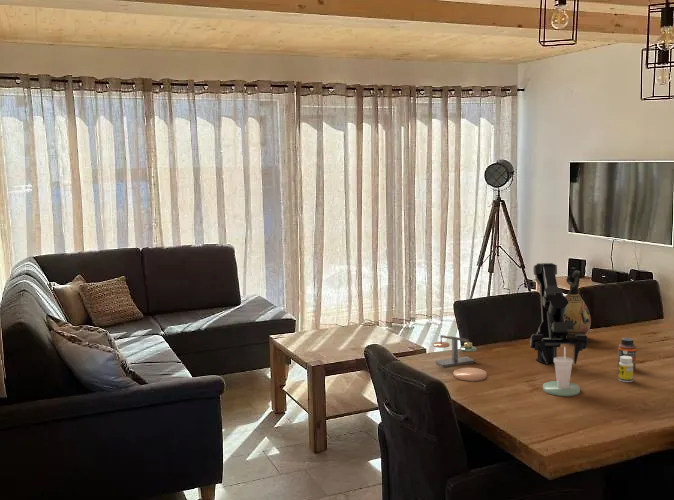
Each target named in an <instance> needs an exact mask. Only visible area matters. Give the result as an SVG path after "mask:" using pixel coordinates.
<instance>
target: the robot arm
mask: <svg viewBox="0 0 674 500" xmlns="http://www.w3.org/2000/svg"><path fill="white" fill-rule="evenodd" d="M532 270H533V276H535V281H536V283H537V284H538V286H539V289H540V290H539V293H540V309H541V310H540V311H541V323H540V325H539V327H538V330H537V332H536V333H532V335H531V336H530V340H529V343H530V344H529V345H530V349H534V351H536V352H537V358H535V361H537V362H540V363H542V364H544V365H551V364H555V363H554V362H553V361H554V358H555V357H558V356H557V355H558V354H557V353H558V350H557V349H558V348H560V347H561V346H562V345H573V364H574V365H576V364H577V361H578V356H579V352H582V351H583V350H585V349H587V346H588V344H589V337H588V335H587V334H585V335H575V338H567V336H568V330H573V329H574V325H573V321H569V320H568V321H567V322H565V319H564V315H565V312H566V308H567V304H568V300H567V299H566V298H565V296H566V295H564V292H563V290H562V289H561V288H560V287H558V282H557V277H556V275H558V265H557V264H555V263H552V262H551V263H550V262H545V263H542V262H541V263H536V264H535V265H533V269H532Z"/></svg>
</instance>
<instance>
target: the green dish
mask: <svg viewBox="0 0 674 500" xmlns="http://www.w3.org/2000/svg"><path fill="white" fill-rule="evenodd" d="M542 390H543V391H544V393H546V394H549V395H552V396H558V397H572V396H573V397H575V396H577V395H579V394H580V393H581V387H580V386H579V385H578V384H576V383H574V382H569V388H566V389H563V388H559V387H557V380H552V381H546V382H544V383H543V384H542Z"/></svg>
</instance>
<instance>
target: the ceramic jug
mask: <svg viewBox="0 0 674 500" xmlns="http://www.w3.org/2000/svg"><path fill="white" fill-rule="evenodd" d="M565 280H566V283H567V284H568V285H569V290H568V293H567V294H566V295H564V296H565V298H566V299H567V300H568V304H567V308H566V312H565V315H564V319H565V322H567V321H568V320H569V321H573V325H574V329H573V330H568V336H567V338H575V335H587V333H589V331H590V328H591V325H592V324H591V323H592V319H591V314H590V311H589V308H588V306H587V304H586V303H585V301H584V300H583V299H582V296H581V295H580V293H579V287H580V280H581V271H580V270H574V271H573V272H572V275H568V276H567V277H566V279H565Z"/></svg>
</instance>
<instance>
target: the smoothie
mask: <svg viewBox="0 0 674 500" xmlns="http://www.w3.org/2000/svg"><path fill="white" fill-rule="evenodd" d="M566 349H567V346H563V356H557V357H555V358H554V361H553V362H554V363H553V364H554V369H555V370H554V371H555V377H556V381H557V387H559V388H563V389H566V388H569V382H570V380H571V374H572V368H573V364H574V358H572V357H569V356H566V354H567V353H566V351H567V350H566ZM570 383H571V382H570Z"/></svg>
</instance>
